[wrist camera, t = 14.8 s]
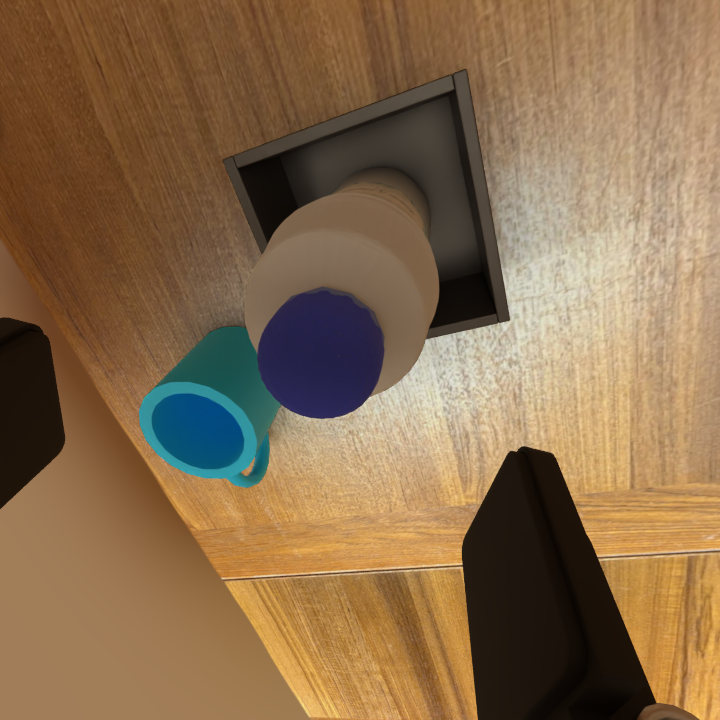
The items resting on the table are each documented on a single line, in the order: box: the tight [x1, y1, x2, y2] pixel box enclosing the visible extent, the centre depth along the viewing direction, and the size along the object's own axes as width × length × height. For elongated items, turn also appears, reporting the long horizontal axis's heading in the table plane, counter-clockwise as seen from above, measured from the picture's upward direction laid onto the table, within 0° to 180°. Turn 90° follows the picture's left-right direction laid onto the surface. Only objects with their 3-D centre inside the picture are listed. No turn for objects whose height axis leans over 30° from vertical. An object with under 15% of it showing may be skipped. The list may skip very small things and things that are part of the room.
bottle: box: [244, 167, 439, 419], centre depth 19 cm, size 7×7×20 cm
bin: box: [223, 69, 510, 339], centre depth 25 cm, size 12×12×8 cm
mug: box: [139, 327, 281, 488], centre depth 34 cm, size 12×8×8 cm
